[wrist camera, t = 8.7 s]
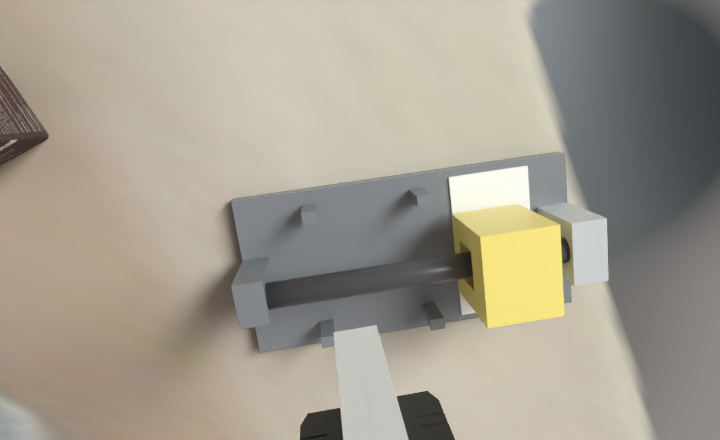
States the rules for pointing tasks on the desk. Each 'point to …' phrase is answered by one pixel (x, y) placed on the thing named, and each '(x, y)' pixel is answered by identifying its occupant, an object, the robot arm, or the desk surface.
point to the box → (16, 122)
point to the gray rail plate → (390, 248)
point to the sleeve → (511, 264)
